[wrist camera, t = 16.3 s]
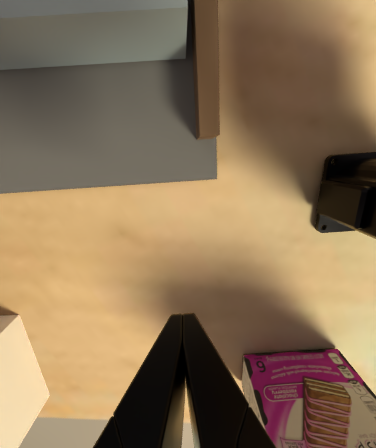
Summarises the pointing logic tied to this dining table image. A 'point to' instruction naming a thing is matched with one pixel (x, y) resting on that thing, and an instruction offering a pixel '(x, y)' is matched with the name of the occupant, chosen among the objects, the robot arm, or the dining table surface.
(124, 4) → the crate
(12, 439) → the milk
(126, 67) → the bay mat
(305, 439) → the candy bar box
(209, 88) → the bay rails
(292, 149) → the dining table surface
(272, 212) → the dining table surface
